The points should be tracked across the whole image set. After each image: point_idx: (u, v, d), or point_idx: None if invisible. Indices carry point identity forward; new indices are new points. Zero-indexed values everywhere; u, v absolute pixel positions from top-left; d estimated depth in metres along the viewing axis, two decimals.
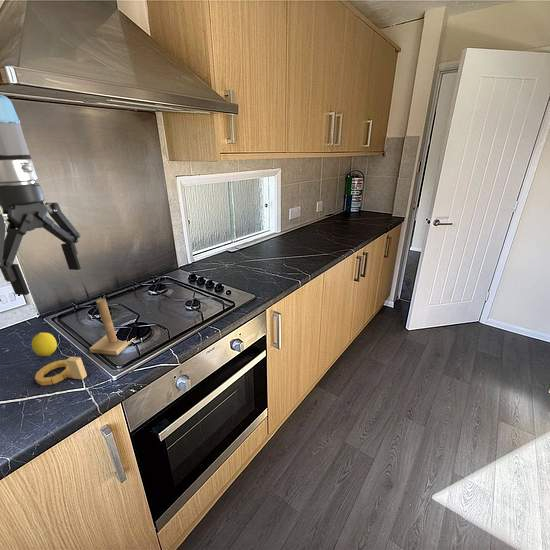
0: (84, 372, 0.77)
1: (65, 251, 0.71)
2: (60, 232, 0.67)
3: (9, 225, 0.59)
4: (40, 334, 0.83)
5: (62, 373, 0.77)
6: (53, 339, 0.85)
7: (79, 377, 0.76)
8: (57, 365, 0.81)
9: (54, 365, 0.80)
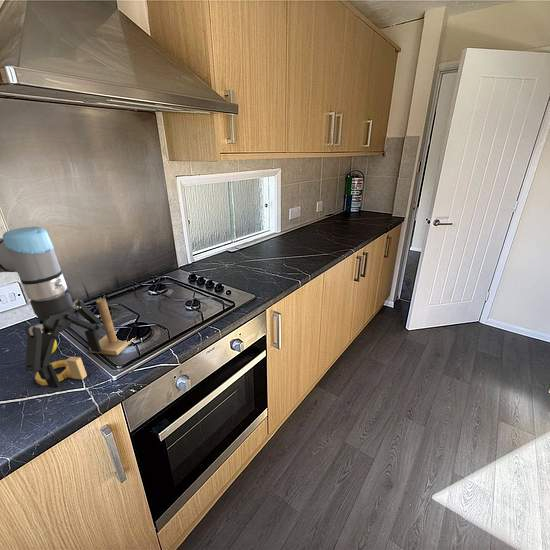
0: (84, 372, 0.77)
1: (88, 337, 0.80)
2: (84, 324, 0.77)
3: (43, 330, 0.68)
4: None
5: (62, 373, 0.77)
6: None
7: (79, 377, 0.76)
8: (57, 365, 0.81)
9: (54, 365, 0.80)
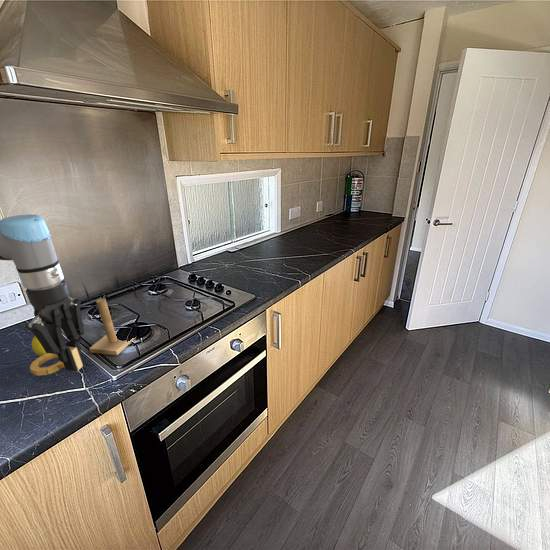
0: (80, 362, 0.76)
1: None
2: (71, 328, 0.73)
3: (44, 320, 0.69)
4: None
5: (58, 363, 0.76)
6: None
7: None
8: (53, 356, 0.80)
9: (50, 356, 0.79)
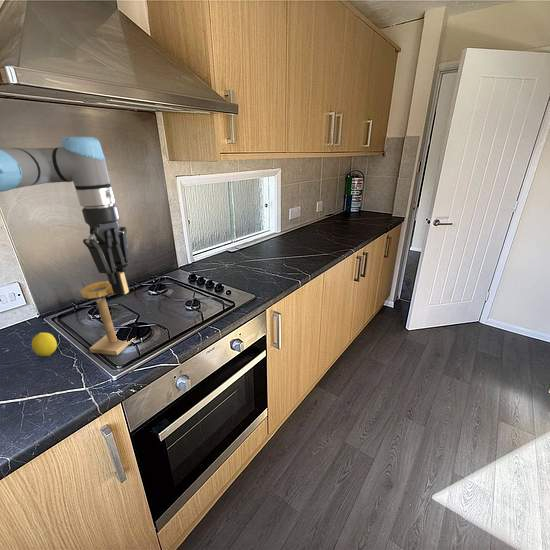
0: (127, 287, 0.81)
1: None
2: (119, 252, 0.78)
3: None
4: (40, 334, 0.83)
5: (106, 289, 0.81)
6: (53, 339, 0.85)
7: None
8: (99, 285, 0.85)
9: (96, 285, 0.84)
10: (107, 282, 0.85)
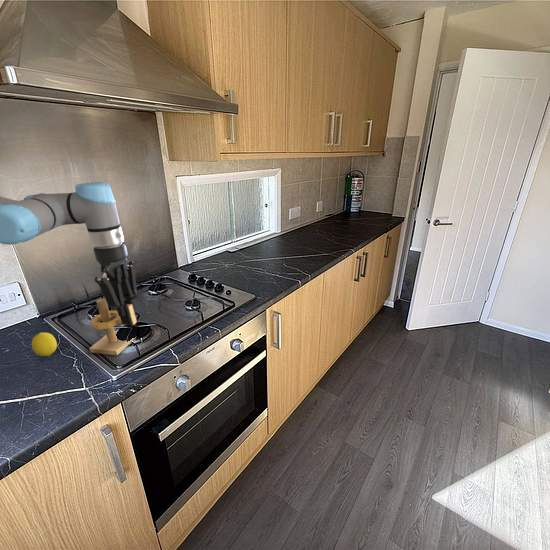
0: (135, 318, 0.85)
1: None
2: (127, 286, 0.82)
3: None
4: (40, 334, 0.83)
5: (115, 319, 0.85)
6: (53, 339, 0.85)
7: None
8: None
9: None
10: (115, 312, 0.89)
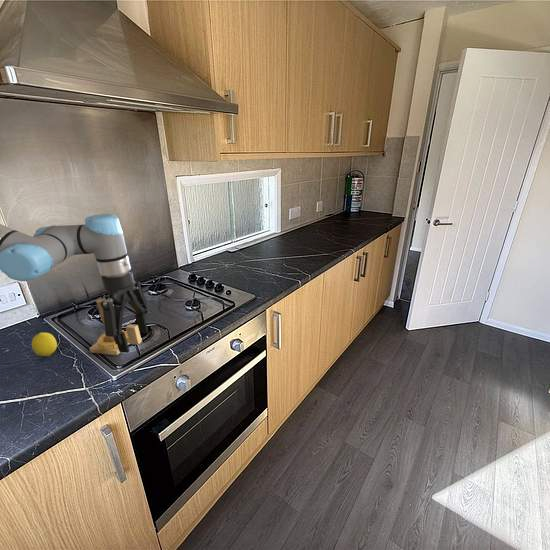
0: (140, 338, 0.88)
1: (138, 320, 0.90)
2: (138, 305, 0.87)
3: (112, 303, 0.80)
4: (40, 334, 0.83)
5: None
6: (53, 339, 0.85)
7: (136, 342, 0.87)
8: None
9: None
10: None
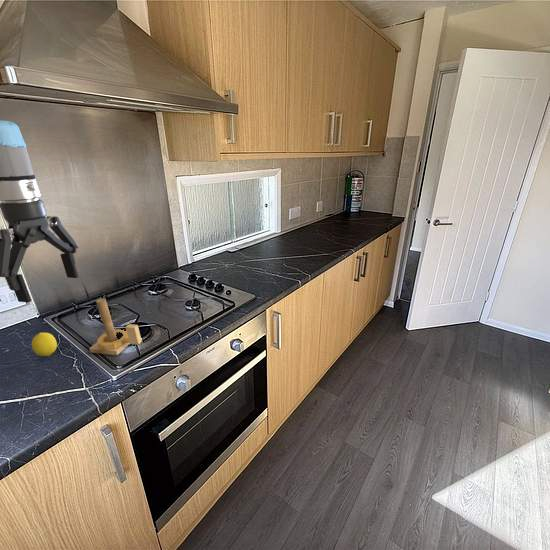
0: (140, 338, 0.88)
1: (64, 261, 0.76)
2: (60, 243, 0.72)
3: (14, 238, 0.64)
4: (40, 334, 0.83)
5: (120, 339, 0.88)
6: (53, 339, 0.85)
7: (136, 342, 0.87)
8: None
9: None
10: (121, 331, 0.92)
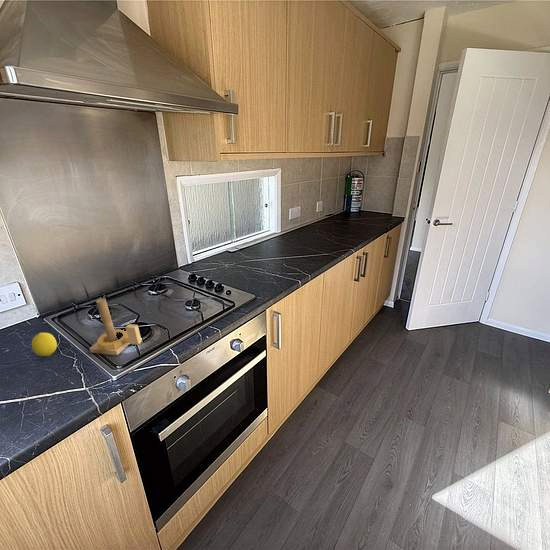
0: (140, 338, 0.88)
1: None
2: None
3: None
4: (40, 334, 0.83)
5: (120, 339, 0.88)
6: (53, 339, 0.85)
7: (136, 342, 0.87)
8: None
9: None
10: (121, 331, 0.92)
